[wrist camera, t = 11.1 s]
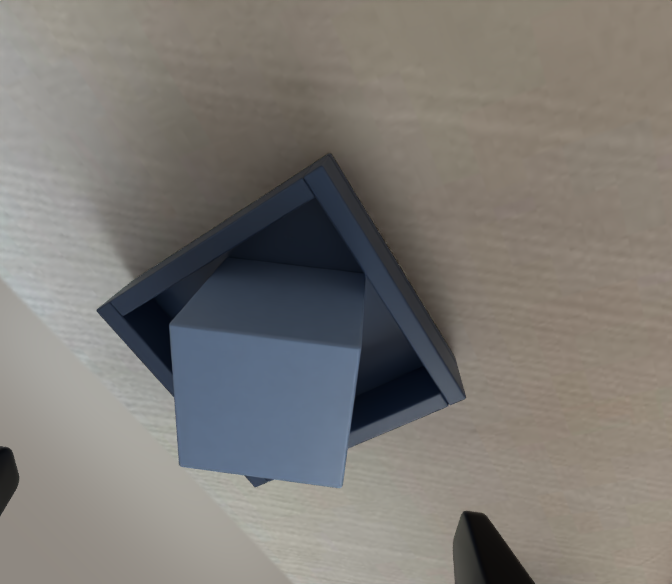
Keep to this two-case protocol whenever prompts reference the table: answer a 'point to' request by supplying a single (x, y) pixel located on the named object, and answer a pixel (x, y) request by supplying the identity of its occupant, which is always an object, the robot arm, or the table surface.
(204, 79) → the table surface
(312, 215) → the slate tray
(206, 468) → the block
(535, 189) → the table surface
